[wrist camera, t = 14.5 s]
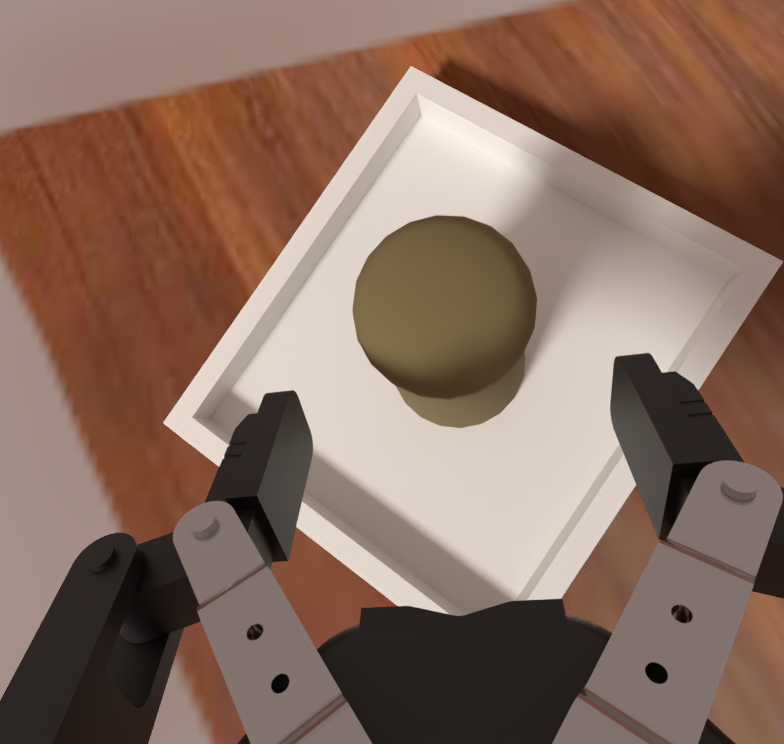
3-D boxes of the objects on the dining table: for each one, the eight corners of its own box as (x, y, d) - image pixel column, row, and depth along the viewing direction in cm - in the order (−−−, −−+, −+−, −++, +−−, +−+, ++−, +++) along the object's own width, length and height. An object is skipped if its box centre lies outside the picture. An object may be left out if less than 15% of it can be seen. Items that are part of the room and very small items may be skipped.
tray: (416, 100, 28) (410, 65, 25) (751, 280, 24) (783, 261, 21) (191, 425, 27) (163, 422, 25) (499, 662, 23) (502, 687, 21)
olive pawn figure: (393, 431, 25) (326, 415, 14) (389, 302, 25) (321, 192, 15) (530, 425, 24) (571, 402, 13) (520, 291, 25) (551, 166, 14)
